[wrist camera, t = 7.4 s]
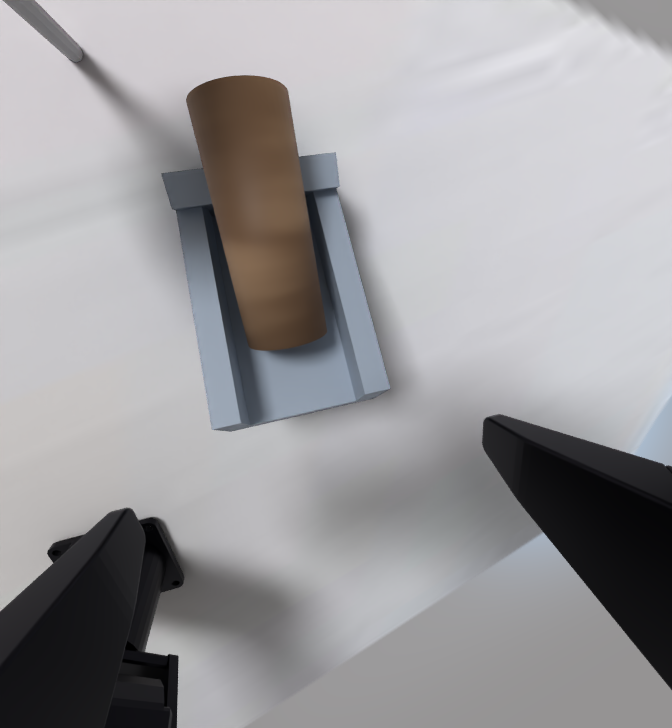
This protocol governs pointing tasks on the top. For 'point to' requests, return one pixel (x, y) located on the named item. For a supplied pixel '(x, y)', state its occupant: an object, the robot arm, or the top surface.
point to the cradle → (287, 366)
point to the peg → (260, 207)
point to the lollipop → (46, 27)
